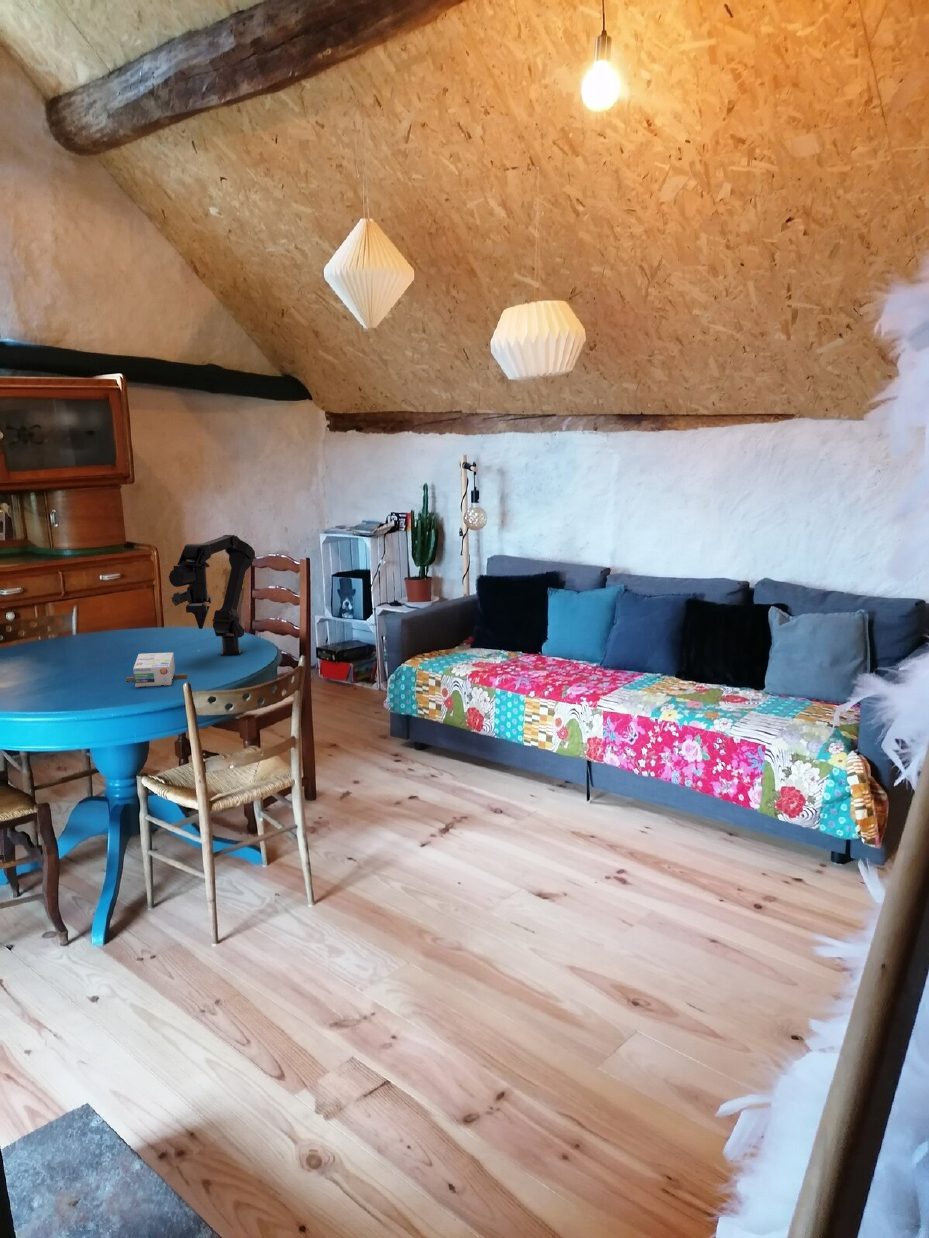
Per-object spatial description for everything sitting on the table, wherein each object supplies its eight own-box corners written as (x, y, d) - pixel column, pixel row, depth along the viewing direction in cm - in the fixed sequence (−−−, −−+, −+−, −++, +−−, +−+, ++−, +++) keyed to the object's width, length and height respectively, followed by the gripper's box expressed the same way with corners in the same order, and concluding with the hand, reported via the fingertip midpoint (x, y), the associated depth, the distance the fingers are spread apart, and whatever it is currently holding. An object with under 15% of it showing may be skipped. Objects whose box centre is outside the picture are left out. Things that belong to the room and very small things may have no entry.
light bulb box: (140, 672, 260) (134, 688, 251) (137, 653, 258) (132, 668, 248) (176, 670, 262) (171, 686, 253) (173, 651, 260) (169, 666, 250)
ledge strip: (127, 680, 258) (127, 676, 258) (187, 677, 262) (187, 673, 261) (126, 681, 257) (126, 678, 256) (186, 678, 260) (186, 675, 260)
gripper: (176, 578, 280) (179, 624, 283) (167, 587, 262) (171, 635, 265) (210, 577, 282) (213, 622, 285) (204, 586, 264) (207, 634, 267)
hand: (200, 628), depth 275 cm, fingers closed
